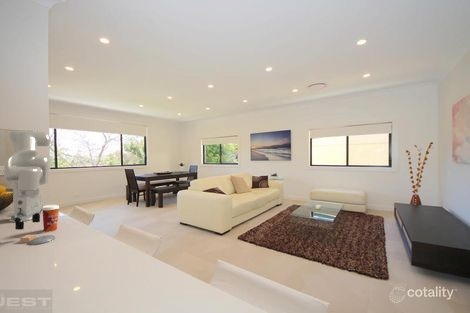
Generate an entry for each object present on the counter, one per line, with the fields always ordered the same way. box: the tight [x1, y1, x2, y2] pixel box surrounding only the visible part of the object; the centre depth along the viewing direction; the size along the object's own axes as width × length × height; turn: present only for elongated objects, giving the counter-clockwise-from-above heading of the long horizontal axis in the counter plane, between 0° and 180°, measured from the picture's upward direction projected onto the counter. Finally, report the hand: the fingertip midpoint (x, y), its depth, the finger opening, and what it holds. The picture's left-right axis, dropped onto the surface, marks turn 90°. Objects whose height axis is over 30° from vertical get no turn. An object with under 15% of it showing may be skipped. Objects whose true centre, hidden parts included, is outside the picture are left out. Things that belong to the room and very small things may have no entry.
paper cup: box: [42, 204, 60, 233], centre depth 120 cm, size 8×8×14 cm
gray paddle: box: [19, 234, 56, 246], centre depth 106 cm, size 14×10×2 cm
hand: (28, 225), depth 105 cm, fingers open, 9 cm apart
